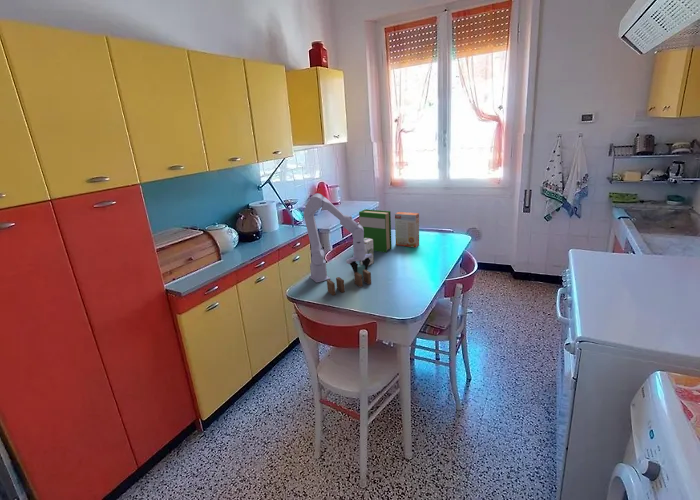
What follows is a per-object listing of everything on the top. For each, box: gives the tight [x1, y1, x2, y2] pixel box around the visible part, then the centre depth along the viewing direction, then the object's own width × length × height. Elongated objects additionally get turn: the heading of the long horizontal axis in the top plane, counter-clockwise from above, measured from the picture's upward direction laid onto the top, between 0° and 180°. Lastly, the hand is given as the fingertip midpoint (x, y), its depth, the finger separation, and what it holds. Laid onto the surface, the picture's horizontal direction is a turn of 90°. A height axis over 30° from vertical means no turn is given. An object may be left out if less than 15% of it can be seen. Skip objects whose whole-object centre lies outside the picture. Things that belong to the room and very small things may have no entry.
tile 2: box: [335, 277, 346, 294], centre depth 175 cm, size 2×5×6 cm, turn 29°
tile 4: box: [362, 269, 372, 285], centre depth 182 cm, size 2×5×6 cm, turn 29°
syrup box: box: [359, 238, 375, 267], centre depth 203 cm, size 6×6×14 cm
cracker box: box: [394, 211, 420, 248], centre depth 228 cm, size 14×6×21 cm, turn 58°
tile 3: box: [353, 272, 364, 288], centre depth 179 cm, size 2×5×6 cm, turn 29°
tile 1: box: [326, 279, 337, 297], centre depth 173 cm, size 2×5×6 cm, turn 29°
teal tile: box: [357, 264, 365, 278], centre depth 189 cm, size 2×5×6 cm, turn 119°
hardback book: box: [358, 208, 393, 253], centre depth 225 cm, size 18×7×24 cm, turn 58°
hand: (360, 273), depth 189 cm, fingers closed on teal tile, 5 cm apart
